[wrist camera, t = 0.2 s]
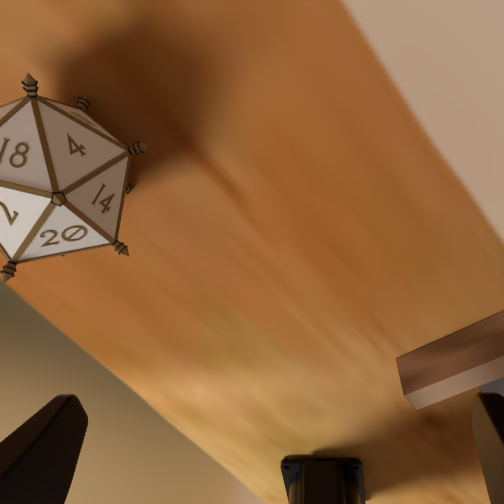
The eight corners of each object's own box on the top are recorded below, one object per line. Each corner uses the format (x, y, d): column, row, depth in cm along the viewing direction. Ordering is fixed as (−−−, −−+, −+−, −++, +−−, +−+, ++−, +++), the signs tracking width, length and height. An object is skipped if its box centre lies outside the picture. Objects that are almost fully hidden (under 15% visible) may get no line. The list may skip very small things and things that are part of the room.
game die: (133, 110, 25) (196, 113, 17) (111, 248, 27) (157, 311, 19) (-51, 62, 21) (-88, 33, 12) (-64, 231, 22) (-105, 306, 14)
